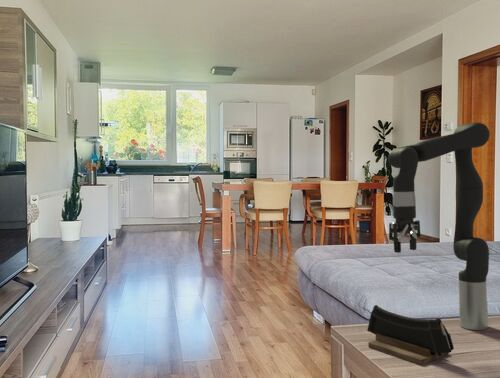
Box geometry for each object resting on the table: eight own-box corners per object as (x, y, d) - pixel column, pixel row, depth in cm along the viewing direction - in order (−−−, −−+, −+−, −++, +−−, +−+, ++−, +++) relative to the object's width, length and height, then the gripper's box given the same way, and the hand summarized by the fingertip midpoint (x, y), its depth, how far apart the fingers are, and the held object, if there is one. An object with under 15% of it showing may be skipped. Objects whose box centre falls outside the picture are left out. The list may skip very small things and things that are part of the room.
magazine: (361, 307, 162) (433, 297, 138) (367, 305, 163) (439, 296, 140) (373, 358, 158) (450, 356, 134) (379, 355, 159) (456, 354, 136)
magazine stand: (395, 337, 160) (395, 327, 160) (448, 354, 144) (448, 343, 144) (368, 346, 152) (368, 336, 152) (421, 365, 136) (420, 353, 136)
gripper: (407, 203, 168) (409, 248, 168) (382, 205, 160) (383, 252, 160) (426, 204, 162) (427, 250, 162) (400, 206, 153) (401, 254, 153)
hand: (405, 251), depth 161 cm, fingers open, 8 cm apart
